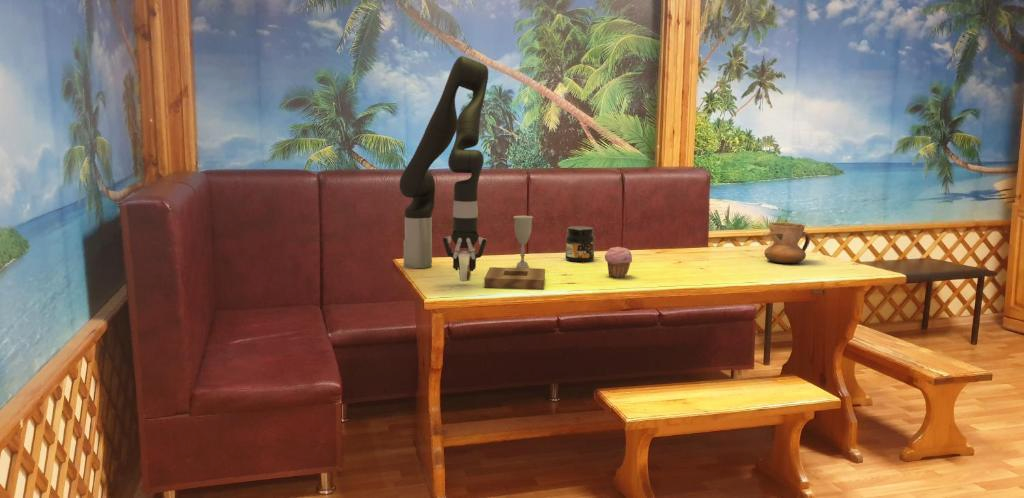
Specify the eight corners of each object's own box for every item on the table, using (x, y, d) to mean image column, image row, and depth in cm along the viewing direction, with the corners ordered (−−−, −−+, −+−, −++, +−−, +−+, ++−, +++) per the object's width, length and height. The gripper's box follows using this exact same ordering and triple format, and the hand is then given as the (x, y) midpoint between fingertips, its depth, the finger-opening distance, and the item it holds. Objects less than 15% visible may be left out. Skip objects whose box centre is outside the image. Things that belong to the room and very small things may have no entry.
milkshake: (454, 279, 249) (454, 247, 247) (472, 278, 249) (471, 247, 248) (454, 282, 244) (454, 249, 243) (472, 281, 245) (472, 249, 243)
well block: (484, 287, 243) (484, 278, 242) (489, 276, 261) (489, 267, 260) (543, 289, 242) (543, 279, 241) (544, 277, 259) (544, 268, 259)
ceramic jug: (771, 266, 286) (774, 226, 284) (754, 258, 300) (756, 221, 298) (818, 265, 289) (821, 226, 286) (799, 258, 303) (802, 221, 300)
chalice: (530, 271, 270) (531, 218, 267) (510, 270, 271) (511, 217, 268) (534, 267, 277) (534, 216, 274) (514, 266, 278) (515, 215, 275)
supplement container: (564, 262, 288) (565, 229, 286) (566, 257, 298) (566, 225, 296) (593, 263, 286) (594, 230, 284) (594, 258, 297) (595, 226, 295)
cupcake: (599, 275, 265) (600, 245, 263) (620, 273, 269) (621, 244, 267) (615, 280, 257) (616, 249, 255) (636, 278, 261) (638, 247, 260)
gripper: (440, 216, 240) (439, 272, 243) (487, 217, 239) (486, 273, 242) (444, 213, 248) (443, 267, 251) (489, 214, 247) (488, 269, 250)
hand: (464, 270), depth 246 cm, fingers closed on milkshake, 4 cm apart
